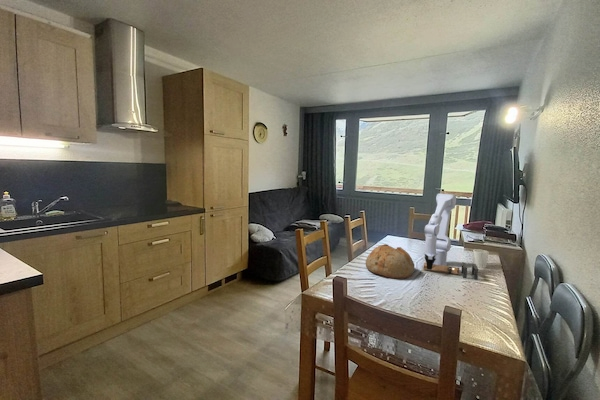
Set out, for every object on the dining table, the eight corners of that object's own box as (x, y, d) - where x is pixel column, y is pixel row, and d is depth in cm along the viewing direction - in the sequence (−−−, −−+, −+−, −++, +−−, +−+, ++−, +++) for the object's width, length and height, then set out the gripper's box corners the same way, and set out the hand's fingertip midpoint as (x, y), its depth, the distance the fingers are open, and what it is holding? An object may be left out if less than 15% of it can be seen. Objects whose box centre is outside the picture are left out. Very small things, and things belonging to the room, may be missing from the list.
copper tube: (423, 271, 160) (423, 265, 159) (423, 267, 164) (423, 261, 163) (459, 276, 153) (459, 270, 152) (458, 272, 157) (459, 266, 155)
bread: (358, 270, 162) (359, 245, 160) (378, 261, 178) (379, 238, 176) (401, 284, 143) (403, 256, 141) (420, 272, 159) (421, 247, 158)
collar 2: (474, 279, 148) (474, 268, 147) (471, 273, 156) (472, 263, 155) (477, 280, 147) (478, 269, 147) (474, 274, 156) (475, 263, 155)
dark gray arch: (463, 278, 150) (464, 267, 149) (461, 272, 158) (462, 262, 157) (466, 278, 149) (467, 267, 149) (464, 272, 158) (465, 262, 157)
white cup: (489, 269, 164) (491, 253, 163) (474, 268, 166) (476, 252, 164) (483, 265, 172) (485, 249, 170) (469, 264, 173) (471, 248, 172)
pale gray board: (421, 273, 158) (421, 272, 158) (421, 267, 168) (421, 266, 168) (481, 282, 146) (481, 281, 146) (477, 275, 156) (478, 274, 156)
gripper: (439, 249, 151) (437, 273, 152) (438, 242, 164) (436, 264, 166) (424, 247, 154) (423, 271, 155) (425, 241, 167) (423, 263, 168)
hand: (429, 267), depth 161 cm, fingers open, 4 cm apart
